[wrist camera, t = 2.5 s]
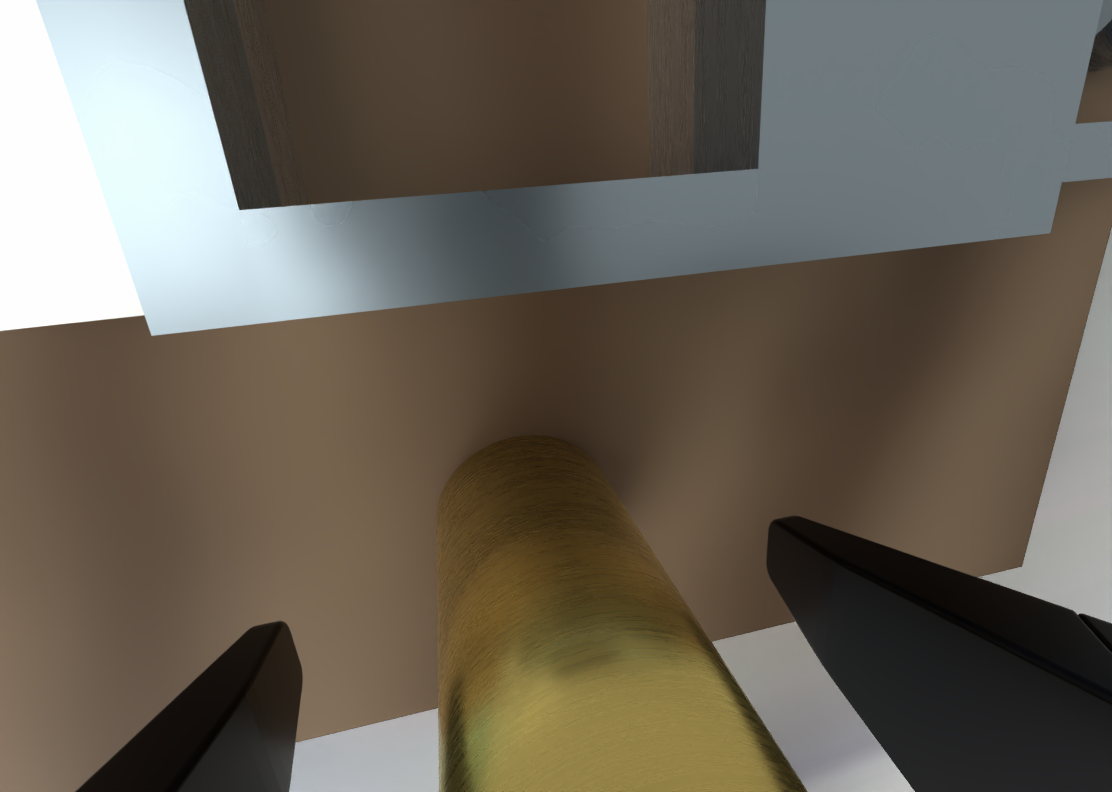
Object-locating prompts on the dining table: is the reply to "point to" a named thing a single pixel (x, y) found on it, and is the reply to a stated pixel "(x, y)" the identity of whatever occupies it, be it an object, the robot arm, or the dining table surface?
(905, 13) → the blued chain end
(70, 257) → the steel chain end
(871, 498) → the board
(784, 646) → the dining table surface
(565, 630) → the pin
